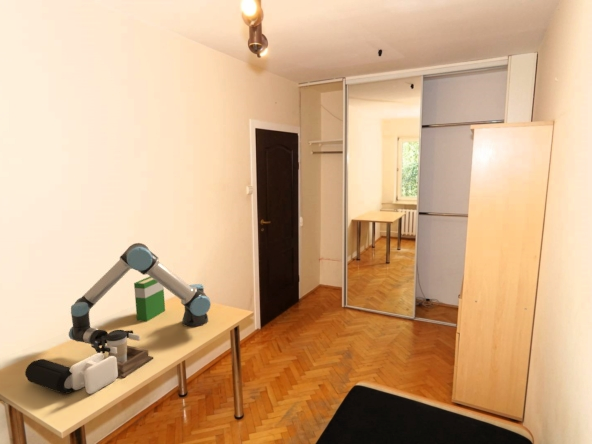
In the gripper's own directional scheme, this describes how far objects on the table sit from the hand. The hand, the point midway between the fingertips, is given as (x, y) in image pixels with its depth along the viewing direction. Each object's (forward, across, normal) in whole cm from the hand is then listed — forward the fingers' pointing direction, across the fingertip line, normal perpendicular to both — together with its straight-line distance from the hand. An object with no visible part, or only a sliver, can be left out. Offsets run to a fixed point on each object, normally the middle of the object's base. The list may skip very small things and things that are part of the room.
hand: (128, 344), depth 173 cm
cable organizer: (-1, +18, -11) cm, 21 cm away
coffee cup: (-5, +2, -9) cm, 10 cm away
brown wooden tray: (-3, 0, -11) cm, 11 cm away
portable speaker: (-18, +25, -11) cm, 32 cm away
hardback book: (-36, -51, -11) cm, 64 cm away
